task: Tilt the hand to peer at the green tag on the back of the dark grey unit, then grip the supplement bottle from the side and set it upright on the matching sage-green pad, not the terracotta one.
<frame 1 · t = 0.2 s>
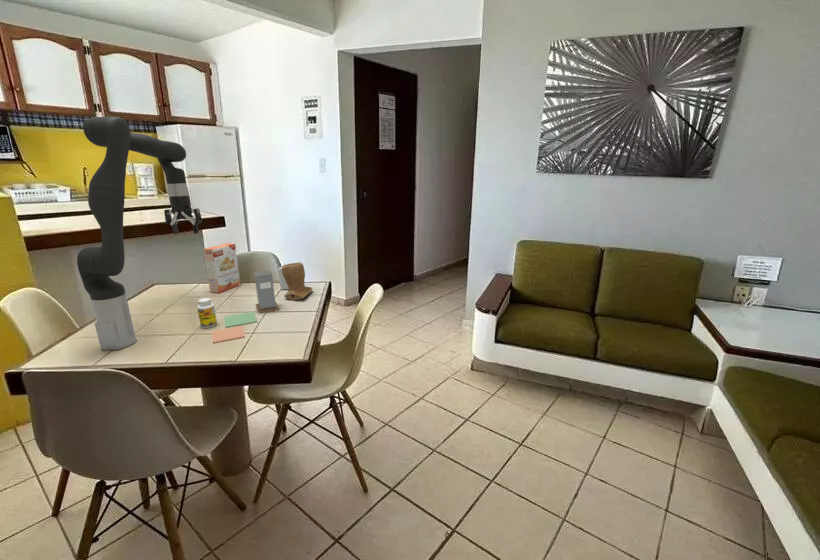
hand: (186, 233, 169), 29 cm above the table, tool pointing down, fingers open, 8 cm apart
terracotta pad: (228, 334, 141), on the table
cracker box: (226, 289, 192), on the table
supplement bottle: (209, 326, 149), on the table
small box: (288, 287, 192), on the table
green pad: (240, 320, 154), on the table
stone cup: (297, 296, 180), on the table
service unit: (267, 308, 165), on the table
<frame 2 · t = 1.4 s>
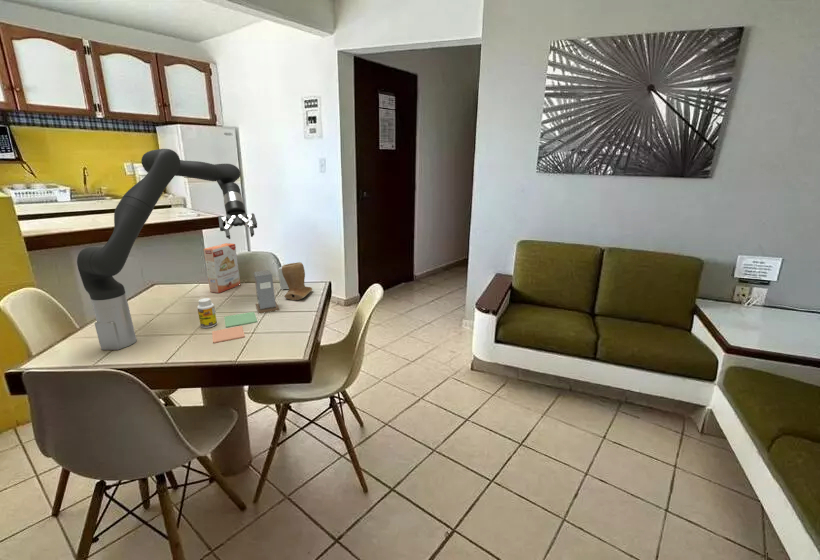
hand: (240, 236, 162), 29 cm above the table, tool tilted 45°, fingers open, 8 cm apart
nothing on the table moved.
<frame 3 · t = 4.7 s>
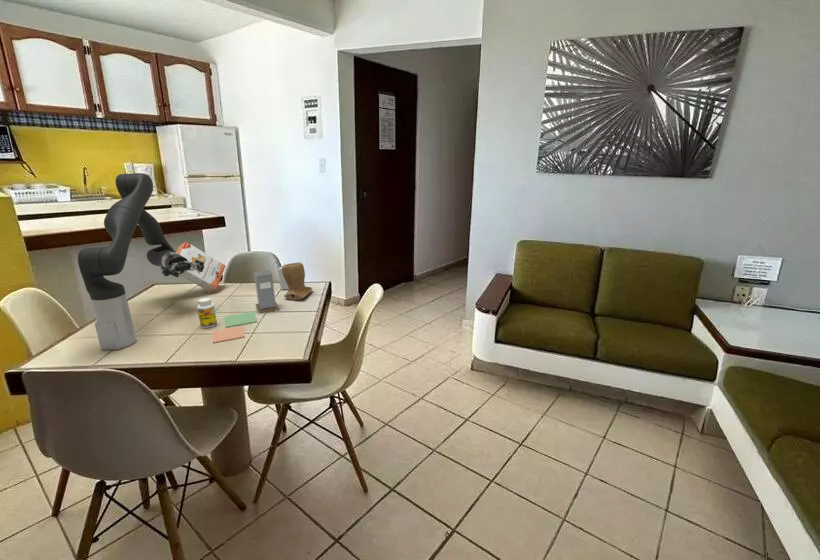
hand: (189, 272, 152), 18 cm above the table, tool horizontal, fingers open, 8 cm apart
cracker box: (219, 278, 190), point 5 cm above the table, touching arm
everything else where it was.
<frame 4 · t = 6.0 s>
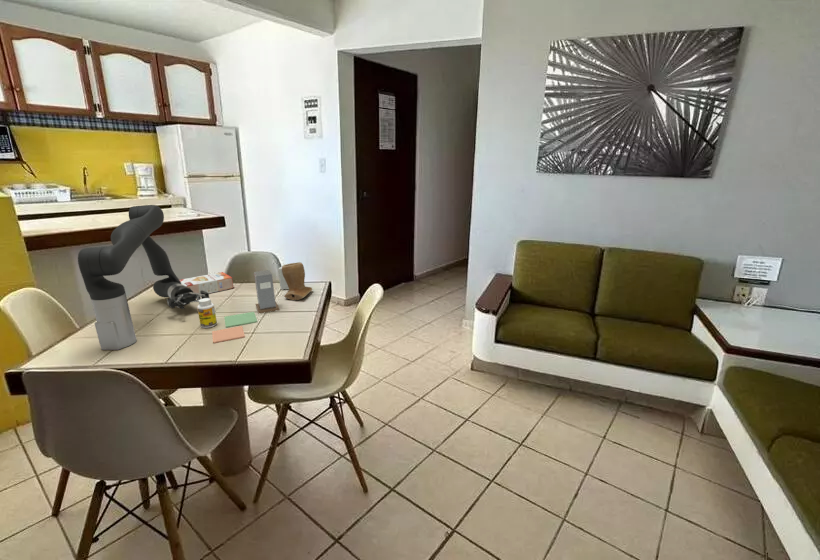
hand: (195, 303, 155), 6 cm above the table, tool horizontal, fingers open, 8 cm apart
cracker box: (228, 279, 196), point 3 cm above the table
everything else where it was.
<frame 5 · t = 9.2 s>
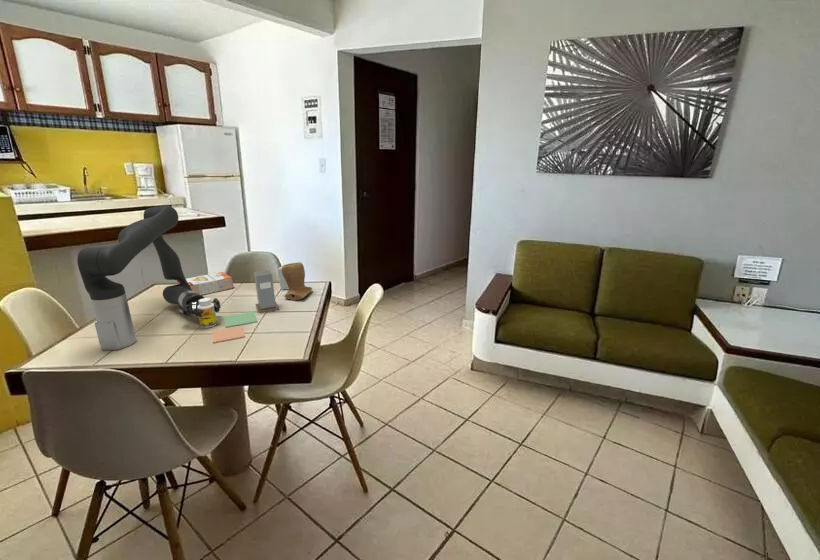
hand: (209, 312, 146), 6 cm above the table, tool horizontal, fingers closed on supplement bottle, 5 cm apart
supplement bottle: (209, 326, 149), on the table, touching gripper
everything else where it was.
when the fingers open (8 cm above the table, at t = 14.1 s): supplement bottle drops 1 cm, resting on green pad.
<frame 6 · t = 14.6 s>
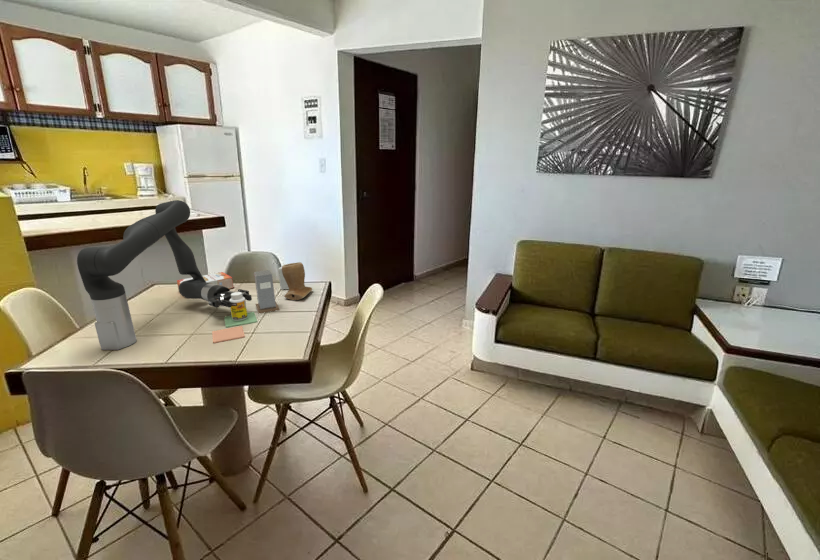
hand: (240, 301, 150), 8 cm above the table, tool horizontal, fingers open, 8 cm apart
supplement bottle: (240, 319, 154), resting on green pad
everything else where it was.
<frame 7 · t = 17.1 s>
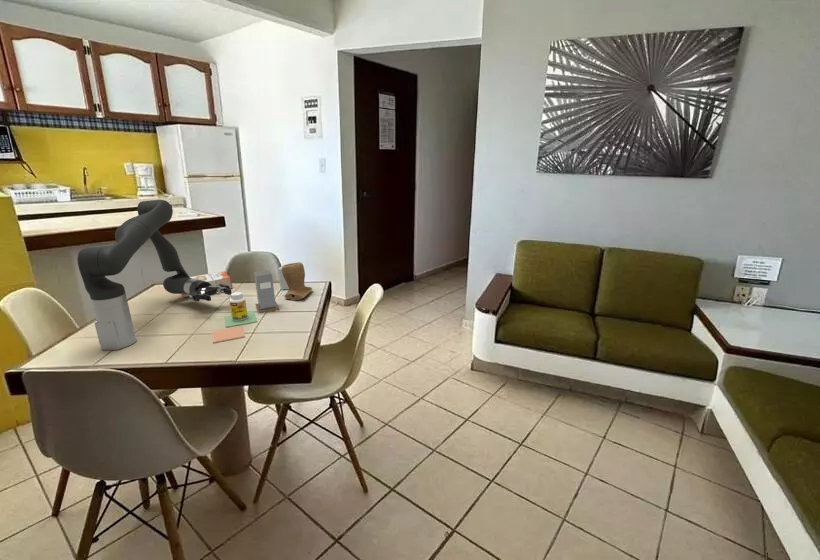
hand: (220, 295, 157), 8 cm above the table, tool horizontal, fingers open, 8 cm apart
cracker box: (229, 279, 196), point 3 cm above the table, touching arm
everything else where it was.
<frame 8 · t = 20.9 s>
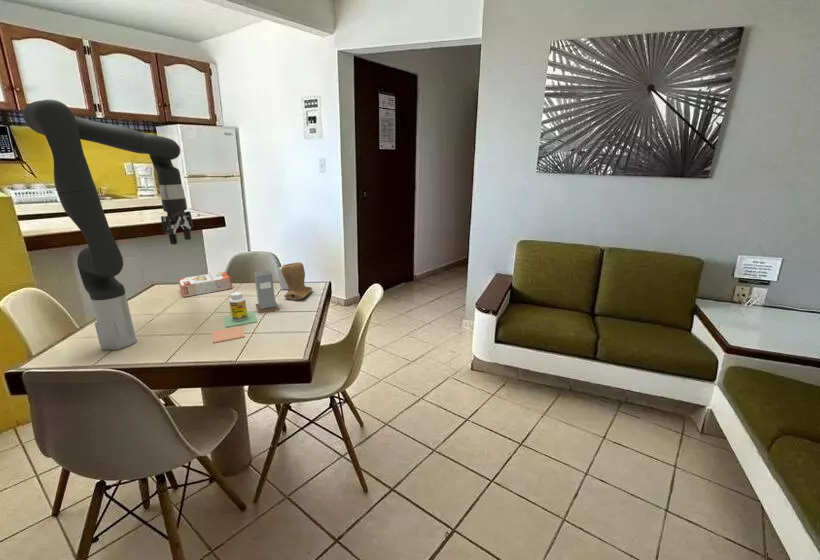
hand: (181, 241, 148), 30 cm above the table, tool pointing down, fingers open, 8 cm apart
cracker box: (229, 279, 196), point 3 cm above the table
everything else where it was.
at the end: supplement bottle inside the target area on the green pad (0.1 cm from its centre), point 0.3 cm above the green pad's base; supplement bottle tilted 0°; the gripper is holding nothing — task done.
